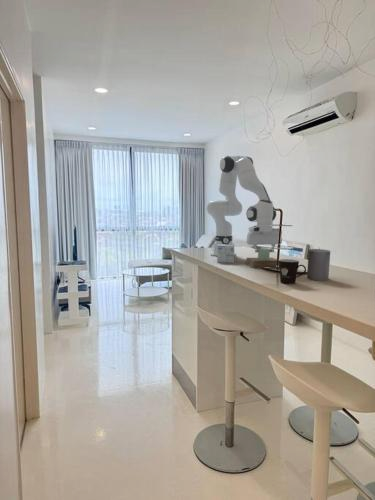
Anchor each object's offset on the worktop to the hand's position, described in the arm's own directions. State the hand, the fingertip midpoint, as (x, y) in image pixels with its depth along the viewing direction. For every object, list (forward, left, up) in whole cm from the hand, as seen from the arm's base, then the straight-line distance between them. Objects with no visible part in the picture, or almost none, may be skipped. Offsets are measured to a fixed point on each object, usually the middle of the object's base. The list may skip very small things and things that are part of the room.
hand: (263, 252), depth 196 cm
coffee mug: (+47, -5, -8) cm, 48 cm away
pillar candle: (+38, +13, -8) cm, 41 cm away
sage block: (0, 0, -4) cm, 4 cm away
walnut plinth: (0, 0, -8) cm, 8 cm away
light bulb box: (-18, -18, -8) cm, 27 cm away
